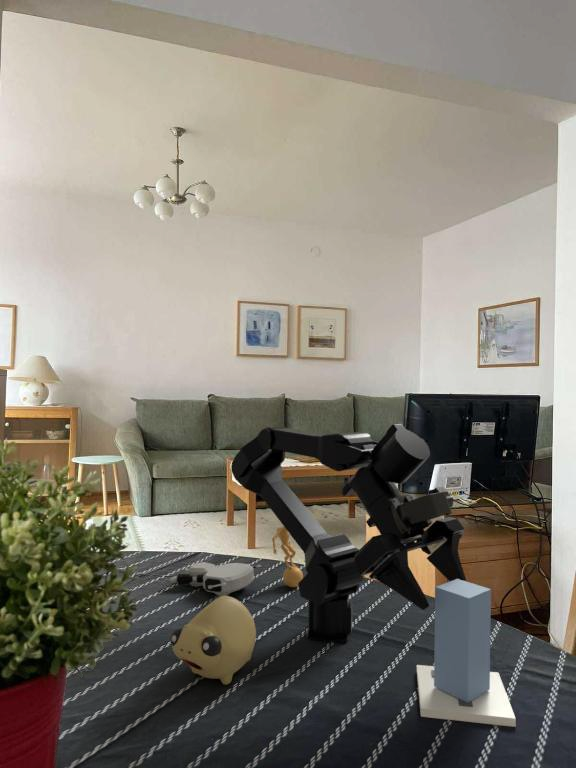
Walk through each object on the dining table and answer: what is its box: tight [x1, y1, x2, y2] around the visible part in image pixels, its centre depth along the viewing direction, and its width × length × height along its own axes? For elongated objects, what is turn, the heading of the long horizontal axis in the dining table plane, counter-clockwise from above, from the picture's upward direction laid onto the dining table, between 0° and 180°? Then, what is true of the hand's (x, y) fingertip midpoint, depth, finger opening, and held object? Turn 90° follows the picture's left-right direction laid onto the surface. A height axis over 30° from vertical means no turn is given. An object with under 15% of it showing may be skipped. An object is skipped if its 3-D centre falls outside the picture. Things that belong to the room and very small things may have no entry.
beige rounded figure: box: [170, 595, 257, 686], centre depth 79 cm, size 10×12×11 cm
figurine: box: [271, 526, 304, 588], centre depth 115 cm, size 8×6×12 cm
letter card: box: [416, 664, 517, 728], centre depth 75 cm, size 11×11×1 cm
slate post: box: [433, 579, 492, 703], centre depth 75 cm, size 5×5×13 cm
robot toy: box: [169, 561, 262, 597], centre depth 113 cm, size 12×4×15 cm
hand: (447, 599), depth 77 cm, fingers open, 9 cm apart
